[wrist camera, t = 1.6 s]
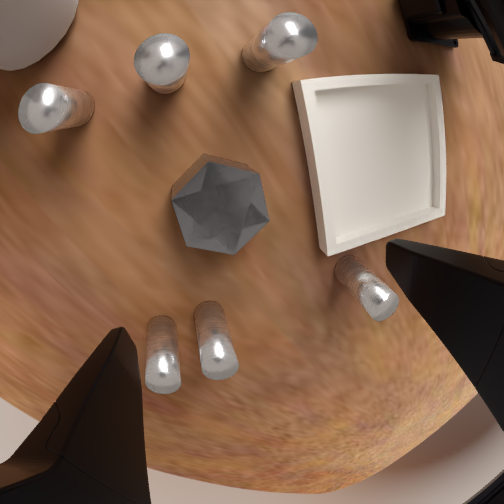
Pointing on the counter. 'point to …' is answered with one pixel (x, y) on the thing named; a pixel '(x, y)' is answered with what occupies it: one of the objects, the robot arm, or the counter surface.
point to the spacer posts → (167, 81)
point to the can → (32, 29)
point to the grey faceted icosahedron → (219, 204)
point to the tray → (372, 154)
